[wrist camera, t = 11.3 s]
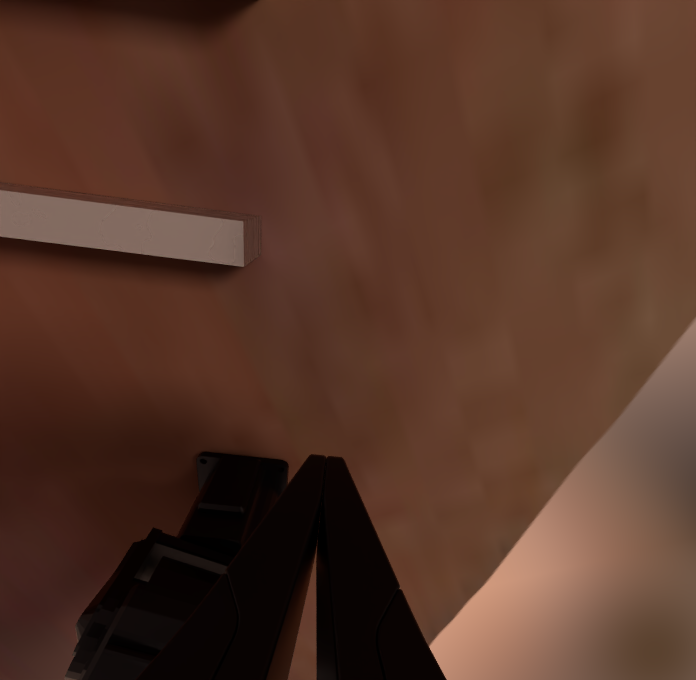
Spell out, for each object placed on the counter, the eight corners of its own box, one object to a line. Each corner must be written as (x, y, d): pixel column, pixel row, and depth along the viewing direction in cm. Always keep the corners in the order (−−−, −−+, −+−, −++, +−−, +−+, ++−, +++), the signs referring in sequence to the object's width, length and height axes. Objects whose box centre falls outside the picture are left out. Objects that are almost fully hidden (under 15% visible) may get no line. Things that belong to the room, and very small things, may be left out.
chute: (260, 254, 18) (243, 266, 15) (-80, 212, 18) (-160, 216, 15) (264, -73, 13) (239, -144, 10) (-221, -149, 12) (-385, -244, 10)
